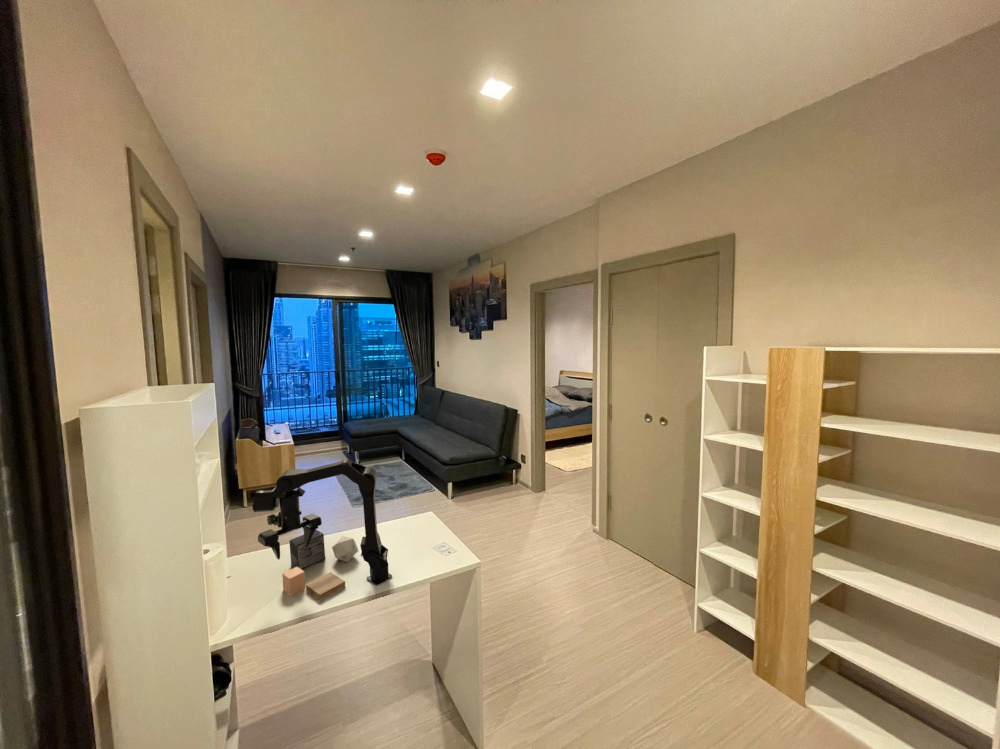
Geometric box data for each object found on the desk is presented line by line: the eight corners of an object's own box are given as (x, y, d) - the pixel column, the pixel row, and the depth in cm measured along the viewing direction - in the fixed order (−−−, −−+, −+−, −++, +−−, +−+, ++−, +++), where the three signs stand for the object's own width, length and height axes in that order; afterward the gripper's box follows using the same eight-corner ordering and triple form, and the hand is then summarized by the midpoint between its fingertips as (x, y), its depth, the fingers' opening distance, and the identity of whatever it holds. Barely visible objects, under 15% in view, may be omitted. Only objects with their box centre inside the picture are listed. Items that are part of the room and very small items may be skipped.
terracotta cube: (305, 588, 138) (304, 571, 137) (290, 595, 134) (289, 578, 133) (298, 582, 141) (297, 566, 140) (283, 590, 137) (282, 573, 136)
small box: (317, 553, 159) (316, 528, 158) (326, 559, 155) (324, 533, 154) (290, 565, 151) (288, 539, 150) (298, 572, 147) (296, 545, 146)
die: (335, 569, 149) (351, 548, 149) (323, 551, 154) (338, 531, 153) (351, 566, 157) (366, 546, 157) (339, 549, 161) (354, 529, 161)
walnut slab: (345, 586, 138) (345, 581, 138) (320, 600, 131) (320, 594, 131) (330, 577, 144) (330, 571, 143) (306, 590, 137) (305, 584, 136)
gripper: (305, 494, 147) (307, 534, 148) (249, 512, 132) (252, 557, 134) (321, 501, 140) (323, 544, 142) (264, 521, 125) (267, 569, 127)
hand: (292, 552), depth 136 cm, fingers open, 9 cm apart
